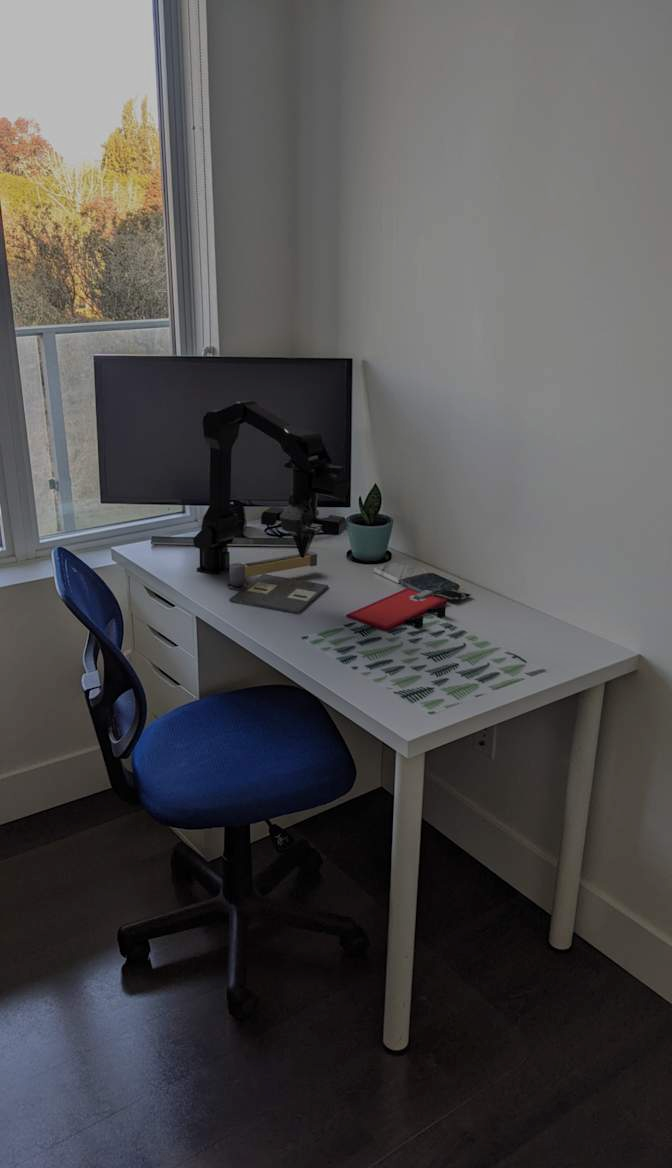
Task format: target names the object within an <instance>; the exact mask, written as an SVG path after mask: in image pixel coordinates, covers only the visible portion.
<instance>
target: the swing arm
mask: <svg viewBox="0 0 672 1168" xmlns="http://www.w3.org/2000/svg"><path fill="white" fill-rule="evenodd" d="M317 564H318V554H317V553H316V552H314V551H312V550H311V551H309V550H308V551H307V554H306V556H305V557H304V558H302V557H300V554H299V553H298V554H292V555H288V556H287V555H286V556H281V557H275V558H270V559H264V560H259V561H252V562H246V563H245V564H244V563H241V562H240V563H239V562H236V563H235V562H234V563H230V568H229V583H230V585H233V586H242V585H244V584H245V583H246V578H250V577H254V576H261V575H262V574H270V573H271V574H272V573H276V572H281V571H286V570H291V569H297V568H298V569H299V568H303V567H308V566H309V567H316V566H318V565H317Z"/></svg>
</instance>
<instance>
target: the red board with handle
mask: <svg viewBox="0 0 672 1168" xmlns="http://www.w3.org/2000/svg"><path fill="white" fill-rule="evenodd" d="M451 589H452V588H451ZM432 591H433V590H428V589H425V590H422V591H419V590H416V589H413V588H409V587H406V588H404V589H402V590H400V591H397V592H395V593H392V594H391V595H388V596H386V597H384V598H382V599H379V600H376V601H374V602H372V603H370V604H367V605H365V606H363V607H361V608H359V609H356V610H354V611H352V612H351V611H350V612H349V613H347V614H346V615H345V618H348V619H351V620H354V621H356V622H358V623H361V624H364V625H366V626H370V627H373V628H375V629H377V630H380V631H383V632H386V633H387V632H390V631H391V630H393V629H396V628H399V627H400V626H403V625H405V624H406V625H408V624H409V625H413V628H414V629H416V630H419V629H421V628H423V627H424V615H427V614H428V613H429V614H436V617H437V618H439V619H442V618H443V617H446V607H447V605H446V604H448V601H449V602H453V603H458V602H461V601H462V600H464V599H466V598H469V597H471V596H472V594H471V593H466V592H463V591H459V590H457V589H452V590H450V591H446V592H443V593H438V594H434V595H433V592H432Z"/></svg>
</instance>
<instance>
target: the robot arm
mask: <svg viewBox="0 0 672 1168" xmlns="http://www.w3.org/2000/svg"><path fill="white" fill-rule="evenodd" d="M243 424H248V425H249V426H251V427H253V428H254V429H256V430H258V432H261V433H262V434H264V435H265V436H267V437H269V438H270V439H272V440H274V442H277V444H279V445H280V447H281V450H282V452H283V453H285V454H286V455H287V456H288V457H289V458H290V459H288V461H286V462H285V464H283V467H284V468H287V469H290V470H291V494H290V495H289V497H288V503H287V506H286V507H279V506H278V507H277V506H270V507H269V508H267V509H266V510H264V511H262V513H261V515H260V524H261V525H266V526H274V525H276V523H278V522H280V526H281V529H282V530H283V531H285V532H288V533H289V534H290V535H291V536H292V539H293V540H294V542H295V545H296V548H297V551H298V554H300V557H302V558H304V557H305V556H306V554H307V552H309V548H310V547H311V544H312V542H313V540H314V538H315V536H316V535H317V534H319V532H321V531H322V532H323V533H324V534H325V535H330V536H331V535H332V536H339V535H341V534H342V533H343V532H345V531H346V530H347V528H348V521H347V519H346V517H345V516H339V515H331V514H329V515H328V516H327V517H326V518H320V517H318V516H319V514H320V512H319V511H320V510H318V499H319V498H320V495H321V496H324V497H329V498H333V499H339V500H341V499H343V498H345V497H346V496H347V494H348V492H349V490H350V486H351V481H350V479H349V475H348V474H347V473H346V472H345V467H344V466H342V465H339V466H338V465H333V464H334V463H333V460H332V458H331V456H330V454H329V452H328V450H327V448H326V447H325V444H324V441H323V437H322V435H320V434H319V433H318V432H316V431H313V430H311V429H308V428H303V427H298V426H294V425H292V424H290V423H289V422H287V421H285V420H283V419H282V418H280V417H278V416H277V415H275V414H273V413H272V412H271V411H268V410H267V409H266V408H264V407H262V406H260V405H258V403H257V402H256V401H254V400H252V399H248V400H242V401H237V402H235V403H234V404H232V405H229V406H227V407H225V408H221V409H215V410H211V411H208V412H206V413H205V414H204V415H203V417H202V431H203V437H204V439H205V441H206V443H207V445H208V446H209V449H210V450H209V451H210V452H209V456H210V457H209V506H208V508H207V510H206V512H205V513H204V515H203V517H202V522H201V530H200V531H199V532H198V533H197V534H196V535H195V536H194V537H193V538H192V540H193V546H194V547H195V548H196V549H199V550H198V551H199V566H198V567H196V571H197V572H203V573H207V574H208V573H209V574H215V575H221V574H222V573H224V572H226V571H227V570H228V569H229V570H230V565H231V563H230V559H231V558H230V557H231V556H230V551H229V547H228V545H231V544H233V542H234V539H235V537H236V536H237V534H238V531H239V530H240V528H239V526H240V525H239V520H240V516H239V514H238V513H235V512H234V510H233V509H232V507H231V491H232V489H231V487H232V486H231V485H232V484H231V483H232V480H231V479H232V452H233V451H232V448H233V446H234V445H235V443H236V440H237V439H238V437H239V432H240V427H241V425H243Z"/></svg>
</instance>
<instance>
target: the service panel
mask: <svg viewBox="0 0 672 1168" xmlns="http://www.w3.org/2000/svg"><path fill="white" fill-rule="evenodd" d="M226 586H227V587H226V588H227V589H229V590H232V591H238V592H237V593H235V594H234V595H232V596H231V597H230V598H229V602H231V601H233V603H237V602H241V603H240V604H242V603H246V604H245V605H248V604H251V605H250V606H253V605H255V606H254V607H258V606H260V607H259V608H264V607H265V608H264V609H269V608H270V610H275V611H281V612H286V613H291V614H298V615H299V614H300V613H301V612H302V611H304V609H306V608H307V607H308V606H309V605H311V603H312V602H313V601H315V600H316V599H317V598H318V597H320V595H321V594H322V593H323V592H325V591H326V590H327V589H328V588H329V584H325V583H324V584H323V583H319V582H313V581H306V580H301V579H295V578H289V577H284V576H277V575H272V574H268V573H266V574H261V575H259V576H258V577H256V579H253V581H252V582H250V583H249V584H247V583H246V582H245V584H244V585H242V586H233V585H230V582H229V583H227V584H226Z"/></svg>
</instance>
